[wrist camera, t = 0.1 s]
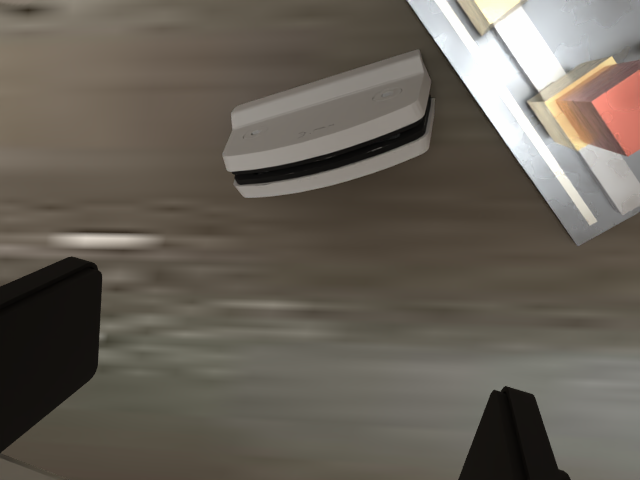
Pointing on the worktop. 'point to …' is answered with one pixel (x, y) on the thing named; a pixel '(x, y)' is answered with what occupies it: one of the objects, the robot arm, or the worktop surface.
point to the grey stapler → (332, 128)
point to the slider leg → (593, 106)
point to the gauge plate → (570, 50)
